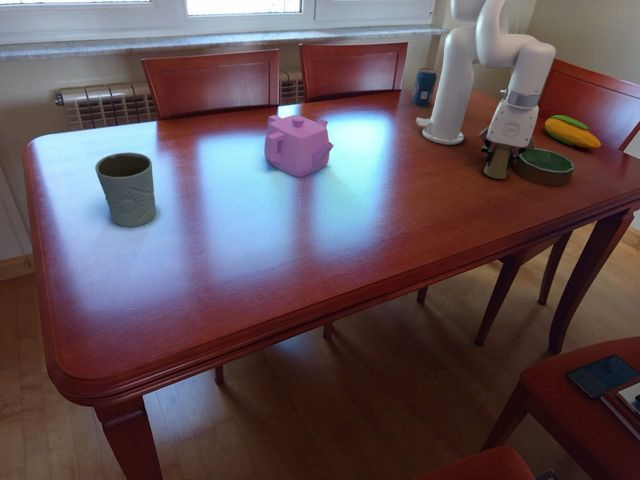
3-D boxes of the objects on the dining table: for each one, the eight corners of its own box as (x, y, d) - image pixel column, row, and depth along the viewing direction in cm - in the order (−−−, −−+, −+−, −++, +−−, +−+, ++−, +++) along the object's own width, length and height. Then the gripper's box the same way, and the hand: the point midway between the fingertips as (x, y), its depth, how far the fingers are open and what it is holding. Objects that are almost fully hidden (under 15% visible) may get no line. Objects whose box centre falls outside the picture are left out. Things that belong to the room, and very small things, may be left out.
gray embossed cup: (137, 198, 96) (127, 147, 89) (171, 213, 92) (163, 162, 85) (97, 218, 89) (82, 165, 81) (132, 236, 85) (119, 182, 78)
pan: (475, 169, 120) (480, 155, 117) (480, 150, 130) (484, 136, 128) (569, 190, 114) (576, 176, 111) (565, 168, 124) (572, 155, 122)
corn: (559, 107, 143) (615, 131, 129) (551, 129, 148) (604, 154, 134) (543, 111, 141) (598, 136, 127) (536, 133, 146) (588, 159, 132)
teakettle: (265, 147, 121) (265, 103, 113) (326, 150, 122) (330, 107, 115) (262, 177, 107) (262, 130, 100) (330, 180, 109) (335, 133, 101)
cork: (510, 174, 118) (524, 135, 111) (500, 181, 114) (515, 141, 107) (489, 166, 121) (502, 128, 114) (479, 172, 117) (492, 133, 110)
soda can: (410, 100, 162) (417, 66, 155) (429, 102, 162) (436, 68, 155) (411, 106, 157) (418, 72, 149) (431, 108, 156) (439, 74, 149)
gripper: (484, 95, 104) (464, 164, 115) (559, 109, 100) (530, 179, 111) (487, 87, 110) (467, 153, 121) (557, 100, 106) (530, 167, 117)
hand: (497, 165), depth 116 cm, fingers closed on cork, 4 cm apart
